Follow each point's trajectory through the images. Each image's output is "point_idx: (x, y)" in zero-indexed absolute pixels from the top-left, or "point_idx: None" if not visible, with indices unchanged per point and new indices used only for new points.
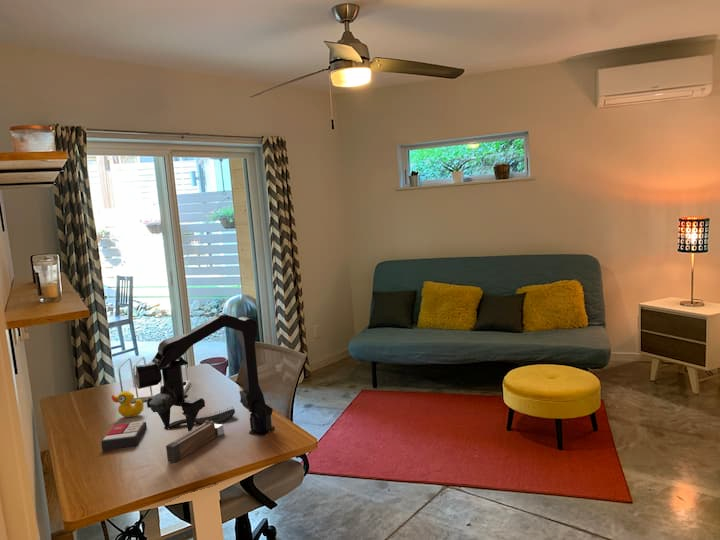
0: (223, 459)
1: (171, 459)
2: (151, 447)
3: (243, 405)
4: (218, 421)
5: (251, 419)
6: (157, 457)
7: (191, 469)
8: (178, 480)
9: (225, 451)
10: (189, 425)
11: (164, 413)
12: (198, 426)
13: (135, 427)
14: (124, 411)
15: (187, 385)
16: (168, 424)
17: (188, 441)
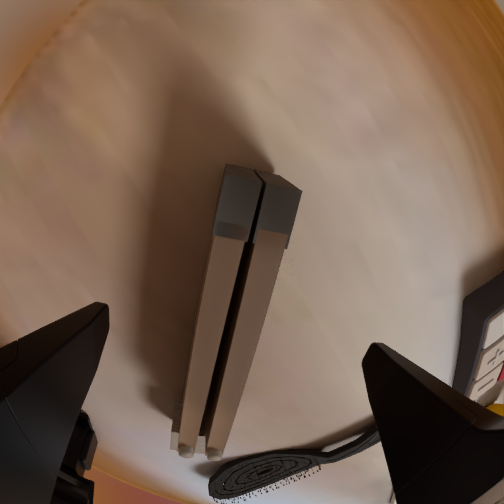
0: (24, 236)
1: (251, 170)
2: (419, 303)
3: (80, 499)
4: (243, 465)
5: (74, 453)
6: (361, 222)
7: (100, 120)
8: (114, 22)
9: (60, 302)
10: (49, 328)
11: (439, 444)
12: (230, 428)
13: (487, 368)
14: (500, 411)
15: (393, 502)
16: (370, 374)
17: (199, 306)
